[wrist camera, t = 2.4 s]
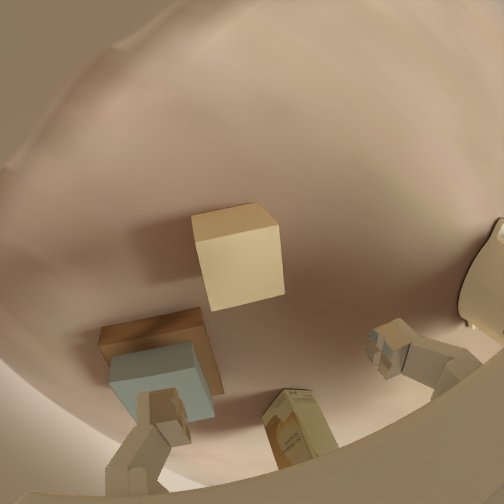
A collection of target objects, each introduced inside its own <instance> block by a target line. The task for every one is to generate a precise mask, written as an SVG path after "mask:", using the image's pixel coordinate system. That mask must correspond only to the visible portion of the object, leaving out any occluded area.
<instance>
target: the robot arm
mask: <svg viewBox="0 0 504 504" xmlns="http://www.w3.org/2000/svg"><path fill="white" fill-rule="evenodd" d="M458 311H459V314H460V316H461V317H462V318H463V319H465V320H467V321H468V326H469V327H470V328H472V329H476V328H478V329H479V330H481V331H482V332H483V333H485V334H486V335H488V336H489V337H490V338H492V339H493V340H494V341H496V342H497V343H499V344H500V345H501V346H503V347H504V219H502V218H501V219H499V221H498V222H497V224H496V226H495V228H494V230H493V232H492V234H491V236H490V238H489V240H488V241H487V243H486V244H485V245H484V247H483V248H482V249H481V251H480V252H479V253H478V255H477V257H476V258H475V260H474V262H473V263H472V265H471V267H470V269H469V271H468V273H467V276H466V278H465V281H464V283H463V286H462V289H461V292H460V296H459V302H458ZM368 337H369V338H370V341H369V342H368V344H367V354H368V357H369V359H370V360H371V362H372V363H373V364H376V365H378V371H379V372H380V373H381V374H382V376H383V377H384V378H385V379H386V380H387V379H390V378H392V377H394V376H396V375H398V374H400V373H402V374H403V375H405V376H407V377H409V378H412V379H414V380H416V381H418V382H420V383H422V384H424V385H427V386H429V387H431V388H433V389H435V390H434V392H433V394H432V396H431V401H430V402H429V403H427V404H425V405H424V406H422V407H420V408H419V409H417V410H415V411H414V412H412V413H410V414H408V415H407V416H405V417H403V418H401V419H399V420H398V421H396V422H394V423H392V424H390V425H388V426H386V427H384V428H382V429H380V430H378V431H376V432H374V433H372V434H370V435H368V436H366V437H364V438H362V439H359V440H357V441H355V442H353V443H350V444H348V445H346V446H343V447H341V448H339V449H336V450H334V451H331V452H329V453H326V454H324V455H321V456H318V457H316V458H313V459H310V460H308V461H305V462H302V463H299V464H296V465H293V466H290V467H287V468H284V469H280V470H277V471H274V472H270V473H267V474H263V475H259V476H256V477H252V478H248V479H244V480H239V481H235V482H231V483H226V484H221V485H216V486H211V487H205V488H199V489H193V490H186V491H179V492H170V493H169V491H168V490H167V489H166V488H164V487H163V486H162V485H161V484H160V483H159V482H158V481H157V479H158V477H159V475H160V472H161V470H162V468H163V466H164V464H165V462H166V459H167V457H168V455H169V453H170V451H171V447H176V446H182V445H187V444H191V438H190V431H189V429H188V427H187V425H186V423H187V422H188V419H187V414H186V410H185V407H184V404H183V402H182V400H181V399H179V396H178V392H177V390H176V388H168V389H162V390H156V391H150V392H143V393H138V395H137V427H133V429H132V430H131V432H130V433H129V435H128V436H127V437H126V439H125V440H124V442H123V443H122V445H121V446H120V448H119V449H118V451H117V452H116V454H115V455H114V457H113V458H112V459H111V461H110V462H109V464H108V465H107V467H106V468H105V469H106V470H105V490H106V491H105V492H106V496H82V495H67V494H55V493H47V492H40V491H28V492H26V493H25V494H24V495H22V496H21V497H20V499H19V500H18V501H17V502H16V503H15V504H504V348H503V349H502V350H500V351H499V352H498V353H497V354H496V355H494V356H493V357H492V358H491V359H489V360H488V361H487V362H486V363H484V364H482V363H481V362H480V361H479V360H478V359H477V358H476V357H475V356H474V355H473V354H472V353H470V352H469V351H468V350H467V349H465V348H461V347H458V346H454V345H451V344H447V343H444V342H440V341H437V340H433V339H430V338H426V337H423V338H421V337H420V336H419V335H418V334H417V333H416V332H415V331H414V330H413V329H412V328H411V327H410V326H409V325H408V324H407V323H406V322H405V321H404V320H402V319H401V318H397V319H395V320H392V321H390V322H387V323H385V324H382V325H380V326H378V327H375V328H373V329H371V330H370V331H369V336H368Z"/></svg>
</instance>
